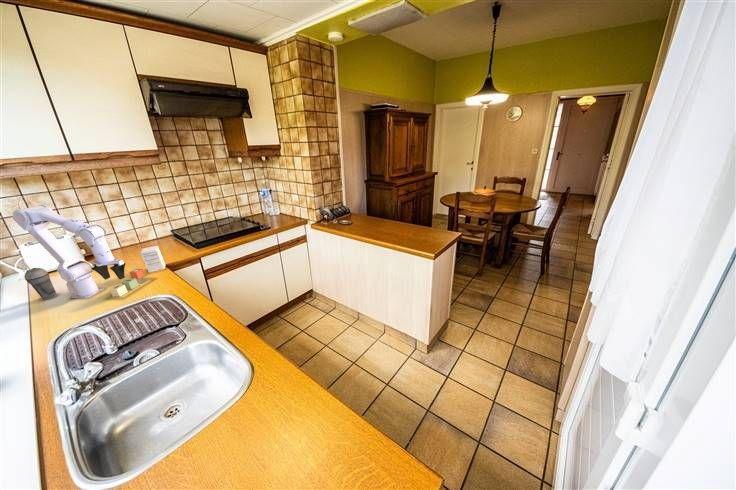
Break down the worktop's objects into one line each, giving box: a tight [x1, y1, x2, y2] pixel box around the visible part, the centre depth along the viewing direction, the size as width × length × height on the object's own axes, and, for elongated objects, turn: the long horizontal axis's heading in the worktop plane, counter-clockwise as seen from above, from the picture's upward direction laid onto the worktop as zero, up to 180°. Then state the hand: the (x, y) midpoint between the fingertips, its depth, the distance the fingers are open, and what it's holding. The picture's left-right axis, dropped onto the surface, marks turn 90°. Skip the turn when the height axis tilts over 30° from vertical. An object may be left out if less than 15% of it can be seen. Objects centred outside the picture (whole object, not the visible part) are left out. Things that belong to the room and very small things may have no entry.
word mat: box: [111, 278, 151, 298], centre depth 131 cm, size 9×18×1 cm, turn 175°
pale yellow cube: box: [108, 284, 129, 298], centre depth 125 cm, size 4×4×4 cm
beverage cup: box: [22, 260, 58, 301], centre depth 124 cm, size 7×7×20 cm
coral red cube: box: [128, 268, 146, 279], centre depth 142 cm, size 4×4×4 cm
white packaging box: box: [140, 245, 167, 274], centre depth 148 cm, size 7×7×13 cm
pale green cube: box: [120, 277, 140, 291], centre depth 131 cm, size 4×4×4 cm
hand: (114, 278), depth 124 cm, fingers open, 7 cm apart
